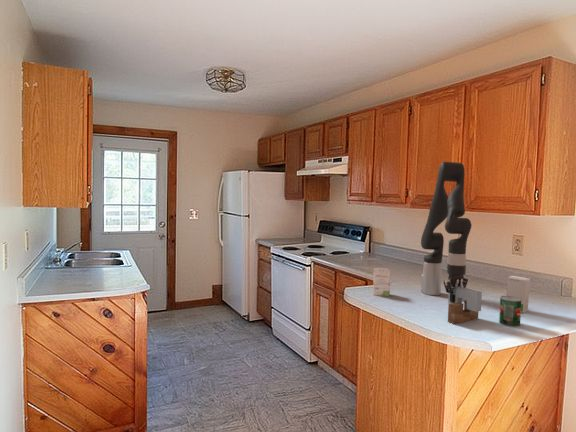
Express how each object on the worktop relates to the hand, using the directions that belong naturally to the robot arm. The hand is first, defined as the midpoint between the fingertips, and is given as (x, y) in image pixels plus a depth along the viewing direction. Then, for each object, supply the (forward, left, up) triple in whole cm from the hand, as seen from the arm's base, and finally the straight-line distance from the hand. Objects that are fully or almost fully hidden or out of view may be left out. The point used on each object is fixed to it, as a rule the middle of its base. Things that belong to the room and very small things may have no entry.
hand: (455, 301), depth 178 cm
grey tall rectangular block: (+5, 0, -1) cm, 5 cm away
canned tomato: (+16, +14, -7) cm, 23 cm away
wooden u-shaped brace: (+4, 0, -7) cm, 8 cm away
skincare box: (+6, +36, -7) cm, 37 cm away
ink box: (-45, -2, -7) cm, 45 cm away
